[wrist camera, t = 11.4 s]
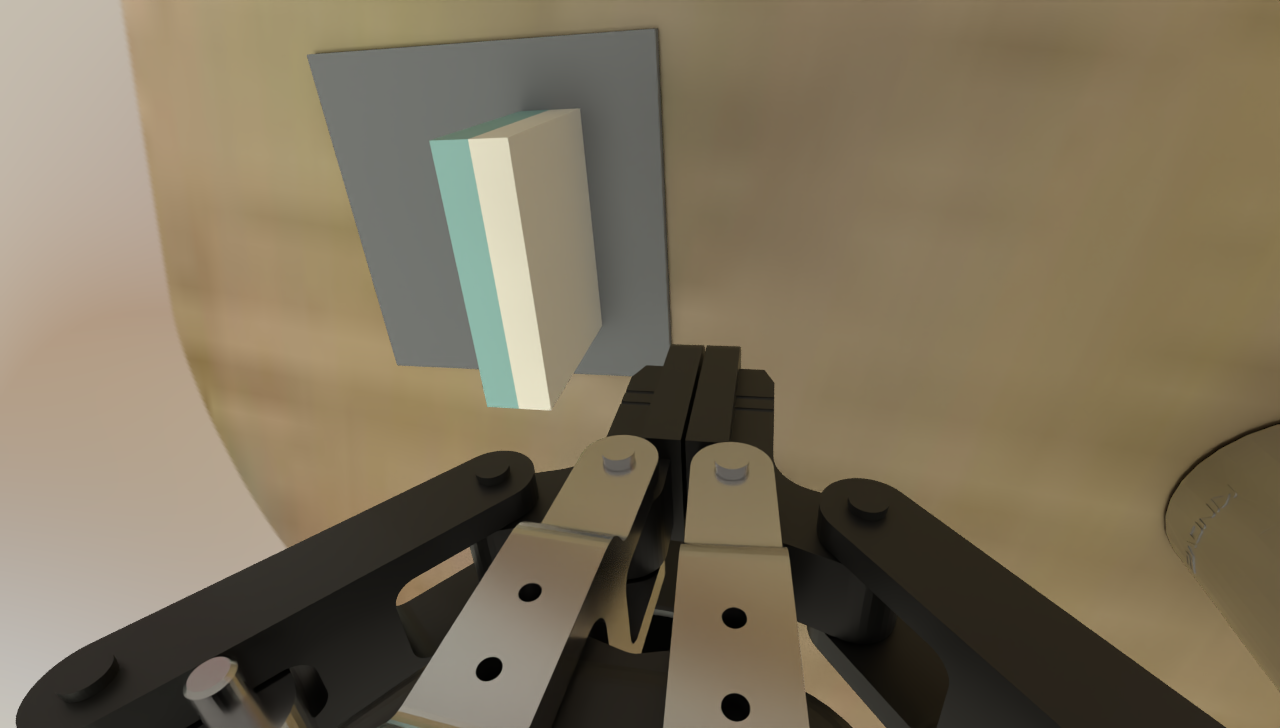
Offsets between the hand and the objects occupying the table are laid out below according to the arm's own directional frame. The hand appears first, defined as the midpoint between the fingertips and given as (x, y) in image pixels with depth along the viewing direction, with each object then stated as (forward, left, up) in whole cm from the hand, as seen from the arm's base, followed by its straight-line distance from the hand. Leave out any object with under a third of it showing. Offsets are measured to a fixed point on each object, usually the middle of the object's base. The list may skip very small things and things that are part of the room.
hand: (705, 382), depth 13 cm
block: (+7, 0, -12) cm, 14 cm away
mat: (+10, 0, -13) cm, 16 cm away
